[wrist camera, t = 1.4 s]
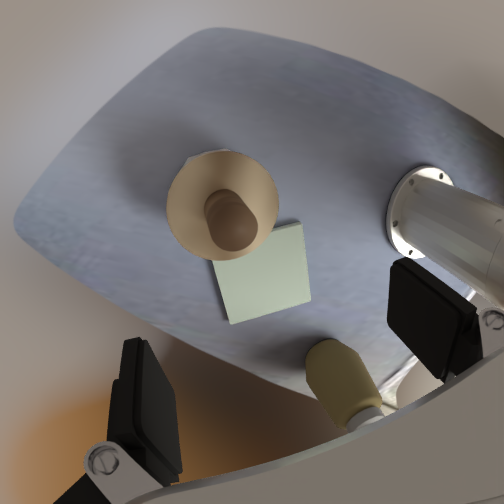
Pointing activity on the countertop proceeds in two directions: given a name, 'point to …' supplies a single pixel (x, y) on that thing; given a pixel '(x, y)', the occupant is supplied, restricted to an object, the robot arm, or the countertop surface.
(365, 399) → the squeeze bottle
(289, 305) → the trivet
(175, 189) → the lid
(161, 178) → the countertop surface
